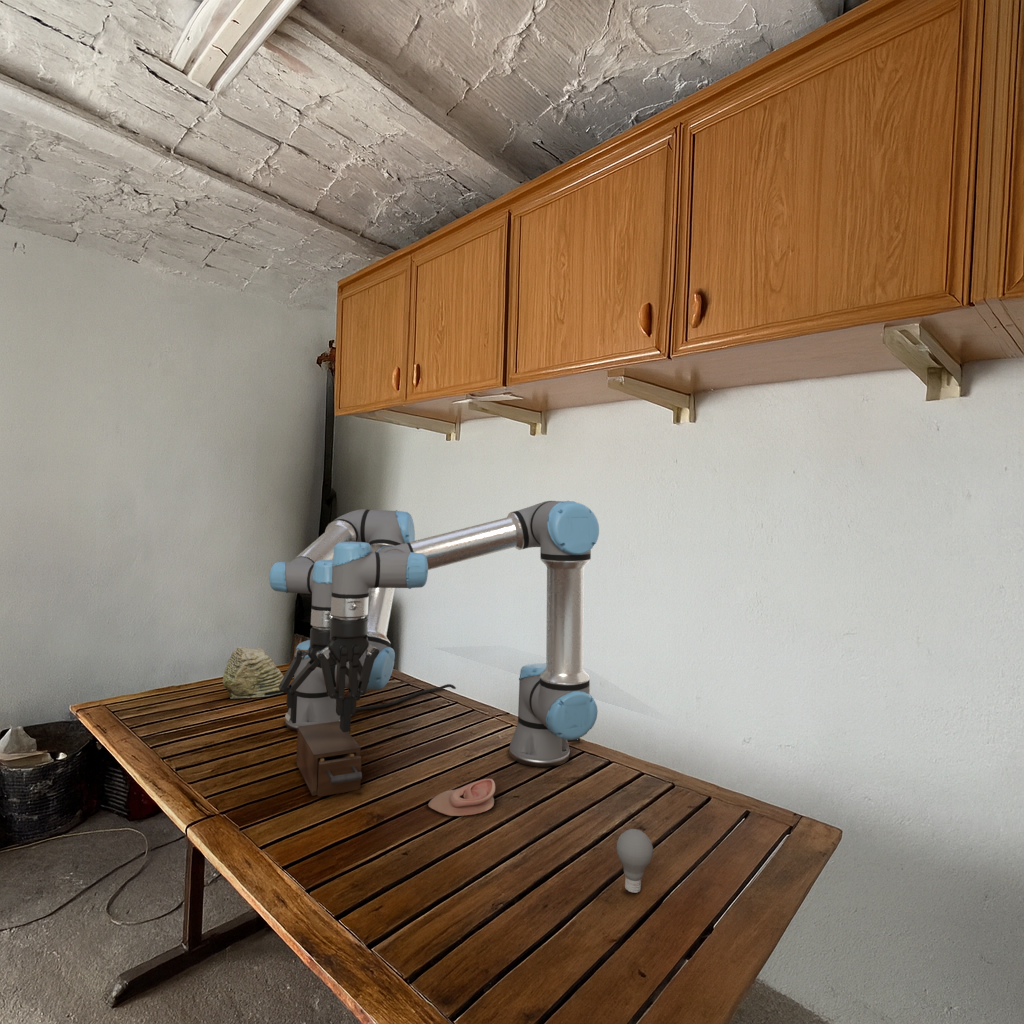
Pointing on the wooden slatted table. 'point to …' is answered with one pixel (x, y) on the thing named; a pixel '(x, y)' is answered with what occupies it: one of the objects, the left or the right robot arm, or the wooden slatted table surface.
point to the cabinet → (321, 748)
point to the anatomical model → (466, 799)
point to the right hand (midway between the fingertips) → (345, 729)
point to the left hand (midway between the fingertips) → (323, 717)
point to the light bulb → (634, 857)
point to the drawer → (338, 774)
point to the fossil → (251, 674)
